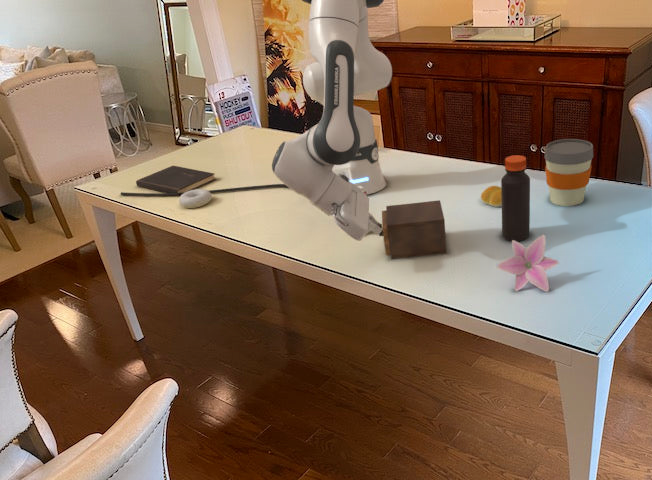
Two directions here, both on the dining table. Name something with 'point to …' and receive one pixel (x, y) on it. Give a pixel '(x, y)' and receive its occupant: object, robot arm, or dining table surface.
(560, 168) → the reusable coffee cup
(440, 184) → the dining table surface
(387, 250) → the drawer
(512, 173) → the bottle
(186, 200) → the donut
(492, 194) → the bread roll
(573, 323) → the dining table surface
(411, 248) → the cabinet
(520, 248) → the lily
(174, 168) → the hardcover book
